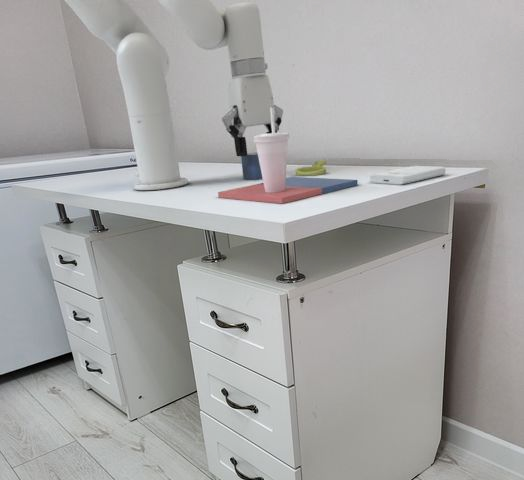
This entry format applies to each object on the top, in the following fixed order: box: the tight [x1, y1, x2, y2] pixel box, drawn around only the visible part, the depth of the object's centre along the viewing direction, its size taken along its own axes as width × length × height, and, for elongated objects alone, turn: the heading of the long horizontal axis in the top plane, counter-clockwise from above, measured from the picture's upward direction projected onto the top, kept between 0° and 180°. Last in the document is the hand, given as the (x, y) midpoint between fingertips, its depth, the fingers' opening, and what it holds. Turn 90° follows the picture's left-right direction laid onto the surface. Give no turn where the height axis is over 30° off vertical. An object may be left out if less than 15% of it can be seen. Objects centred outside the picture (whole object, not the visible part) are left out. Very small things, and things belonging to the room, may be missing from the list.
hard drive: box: [369, 165, 447, 186], centre depth 104 cm, size 2×8×12 cm
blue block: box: [240, 151, 263, 181], centre depth 126 cm, size 4×4×6 cm
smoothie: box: [253, 107, 290, 192], centre depth 96 cm, size 6×6×14 cm
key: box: [295, 158, 327, 177], centre depth 127 cm, size 7×12×2 cm, turn 173°
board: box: [217, 176, 359, 204], centre depth 104 cm, size 18×20×1 cm
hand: (258, 152), depth 125 cm, fingers open, 9 cm apart
